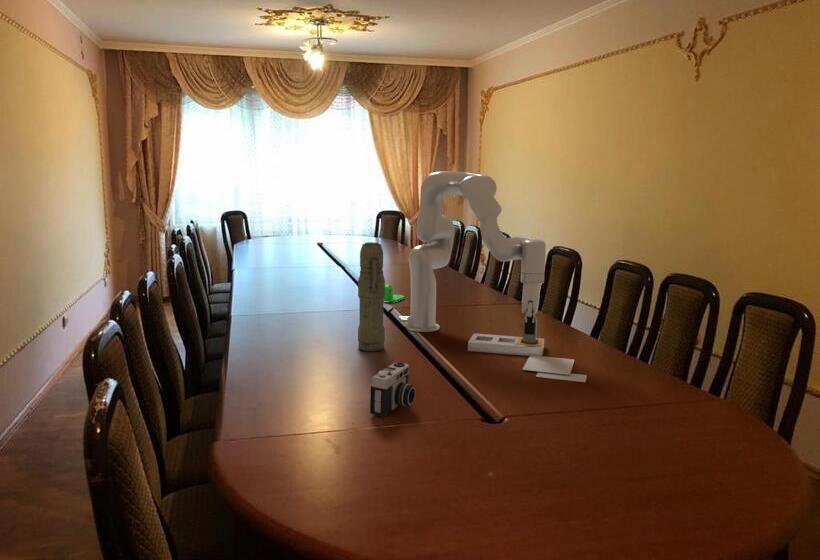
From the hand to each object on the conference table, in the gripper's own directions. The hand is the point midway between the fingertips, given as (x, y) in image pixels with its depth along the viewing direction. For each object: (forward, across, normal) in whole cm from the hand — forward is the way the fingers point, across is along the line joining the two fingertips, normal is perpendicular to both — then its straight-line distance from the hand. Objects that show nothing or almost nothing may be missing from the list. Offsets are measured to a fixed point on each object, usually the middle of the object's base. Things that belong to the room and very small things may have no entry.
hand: (530, 332), depth 212 cm
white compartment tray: (+6, 0, -8) cm, 10 cm away
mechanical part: (+7, -66, -65) cm, 93 cm away
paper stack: (+7, +19, +12) cm, 24 cm away
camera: (+7, +62, -28) cm, 69 cm away
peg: (+5, 0, 0) cm, 5 cm away
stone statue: (+7, +12, -51) cm, 53 cm away
